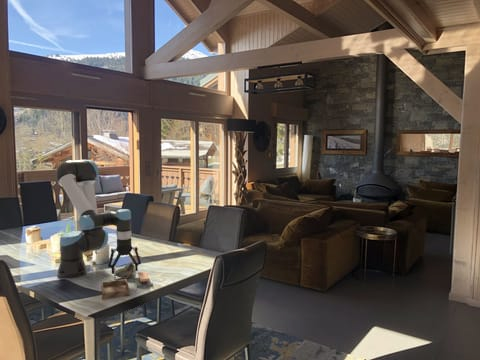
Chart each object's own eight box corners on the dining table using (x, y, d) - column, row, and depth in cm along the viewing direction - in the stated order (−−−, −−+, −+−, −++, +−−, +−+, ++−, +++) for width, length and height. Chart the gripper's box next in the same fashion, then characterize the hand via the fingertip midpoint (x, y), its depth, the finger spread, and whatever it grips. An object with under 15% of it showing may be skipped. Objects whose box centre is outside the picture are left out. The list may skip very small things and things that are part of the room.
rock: (133, 271, 215) (135, 262, 208) (135, 280, 212) (137, 272, 205) (113, 273, 211) (114, 264, 204) (114, 283, 207) (115, 275, 200)
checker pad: (140, 281, 195) (140, 279, 195) (138, 274, 205) (138, 272, 205) (149, 280, 197) (149, 278, 196) (146, 273, 207) (146, 271, 207)
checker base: (137, 287, 194) (137, 282, 194) (134, 279, 205) (134, 274, 205) (153, 285, 197) (152, 280, 197) (149, 278, 208) (149, 273, 208)
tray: (102, 299, 180) (102, 293, 179) (101, 287, 194) (101, 282, 194) (129, 295, 184) (129, 290, 184) (126, 284, 199) (126, 279, 198)
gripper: (102, 241, 195) (103, 283, 198) (146, 238, 204) (146, 277, 206) (101, 238, 202) (102, 278, 205) (144, 234, 210) (144, 273, 213)
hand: (124, 278), depth 205 cm, fingers closed on rock, 10 cm apart
